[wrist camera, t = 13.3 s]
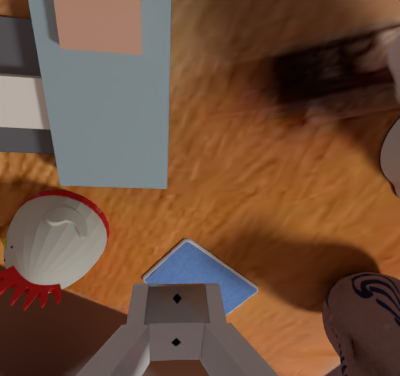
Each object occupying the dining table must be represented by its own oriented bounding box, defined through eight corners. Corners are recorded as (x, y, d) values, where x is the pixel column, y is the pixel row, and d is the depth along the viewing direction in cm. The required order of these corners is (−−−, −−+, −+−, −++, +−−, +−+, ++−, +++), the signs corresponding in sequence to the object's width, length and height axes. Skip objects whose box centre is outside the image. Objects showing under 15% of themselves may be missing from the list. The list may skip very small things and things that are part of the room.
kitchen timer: (39, 173, 40) (-28, 238, 27) (124, 217, 45) (103, 291, 32) (5, 238, 45) (-66, 320, 32) (85, 272, 50) (52, 356, 36)
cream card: (53, 77, 34) (46, 79, 32) (60, 125, 37) (55, 129, 35) (-26, 71, 33) (-37, 73, 32) (-13, 121, 36) (-22, 125, 34)
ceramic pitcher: (380, 316, 61) (494, 471, 39) (286, 321, 60) (350, 485, 38) (409, 254, 53) (573, 405, 31) (301, 258, 52) (394, 420, 30)
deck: (171, 1, 32) (171, -4, 28) (167, 176, 42) (166, 188, 38) (42, -12, 31) (24, -18, 27) (70, 172, 41) (60, 185, 37)
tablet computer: (140, 276, 52) (139, 281, 50) (186, 233, 48) (186, 238, 47) (214, 319, 59) (215, 324, 58) (259, 285, 55) (261, 290, 54)
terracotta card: (141, -1, 28) (139, -3, 27) (142, 54, 31) (140, 55, 29) (58, -9, 28) (52, -12, 26) (65, 48, 30) (60, 48, 28)
